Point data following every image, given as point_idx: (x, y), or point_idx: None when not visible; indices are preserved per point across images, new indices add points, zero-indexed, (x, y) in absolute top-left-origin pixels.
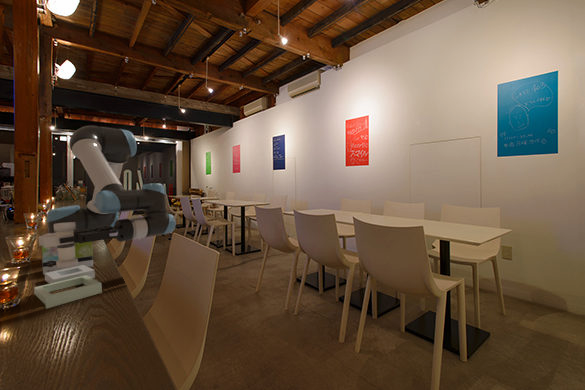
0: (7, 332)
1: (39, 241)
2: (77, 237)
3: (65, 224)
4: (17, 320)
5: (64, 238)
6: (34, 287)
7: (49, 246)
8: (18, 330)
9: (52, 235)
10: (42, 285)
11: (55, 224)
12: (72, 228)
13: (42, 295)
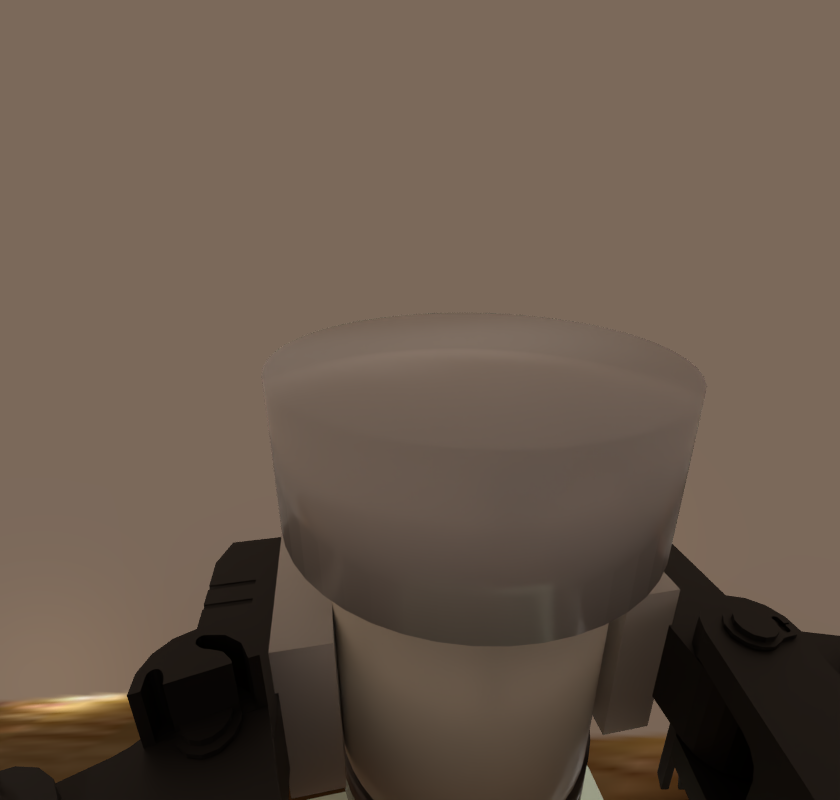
0: (107, 700)
1: None
2: (78, 789)
3: (266, 364)
4: None
5: (215, 584)
6: None
7: None
8: (73, 735)
9: None
10: (598, 793)
11: (417, 318)
12: (302, 544)
13: (337, 796)
